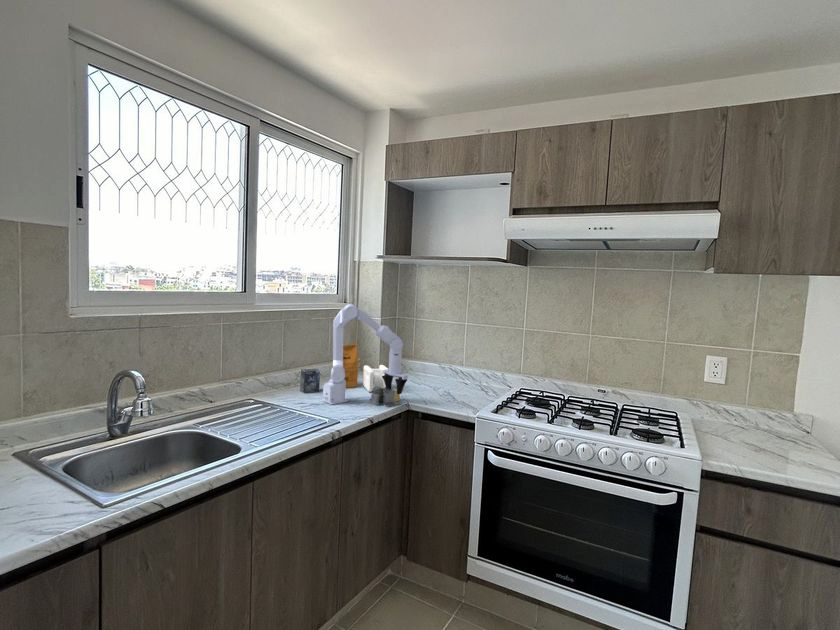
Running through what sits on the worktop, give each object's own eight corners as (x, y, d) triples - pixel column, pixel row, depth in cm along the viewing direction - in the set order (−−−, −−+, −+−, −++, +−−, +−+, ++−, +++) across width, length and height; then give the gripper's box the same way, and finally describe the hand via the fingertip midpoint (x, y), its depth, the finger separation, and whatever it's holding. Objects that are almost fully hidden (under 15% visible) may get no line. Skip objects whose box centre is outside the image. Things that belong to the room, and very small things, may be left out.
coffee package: (329, 384, 232) (331, 342, 230) (352, 383, 238) (354, 342, 236) (335, 389, 223) (337, 345, 221) (359, 387, 229) (360, 345, 227)
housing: (388, 407, 195) (389, 392, 195) (369, 400, 205) (370, 386, 205) (397, 405, 199) (398, 391, 198) (378, 398, 209) (378, 385, 208)
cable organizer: (388, 392, 221) (389, 369, 220) (367, 393, 218) (368, 370, 217) (381, 385, 235) (382, 364, 234) (361, 386, 232) (362, 364, 231)
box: (303, 393, 212) (304, 371, 211) (299, 390, 216) (300, 369, 216) (319, 391, 216) (320, 370, 216) (315, 389, 221) (315, 368, 220)
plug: (375, 405, 197) (375, 394, 196) (370, 404, 199) (371, 392, 199) (399, 401, 206) (399, 390, 206) (394, 399, 209) (395, 388, 209)
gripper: (412, 364, 203) (411, 394, 204) (391, 359, 213) (390, 387, 214) (400, 366, 198) (399, 396, 199) (380, 361, 208) (378, 389, 209)
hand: (393, 392), depth 206 cm, fingers open, 7 cm apart
